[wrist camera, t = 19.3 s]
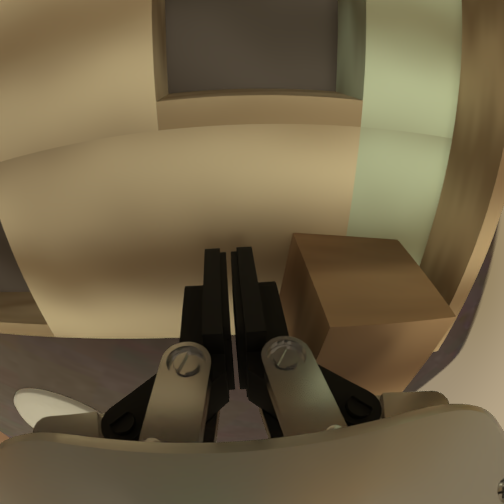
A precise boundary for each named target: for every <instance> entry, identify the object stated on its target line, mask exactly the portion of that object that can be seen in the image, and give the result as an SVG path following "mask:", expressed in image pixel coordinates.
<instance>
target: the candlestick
mask: <svg viewBox="0 0 504 504" xmlns="http://www.w3.org/2000/svg"><path fill="white" fill-rule="evenodd" d="M14 404H15V406H16V408H17V410H18V412H19V413H20V415H21V416H22V417H23V419H24V420H25V421H26V422H27V423H28V424H29V425H30V426H32V427H33V428H34V426H35V425H36V423H37V422H38V421H39V420H40V419H42V418H44V417H47V416H58V415H70V414H80V413H89V412H97V413H98V414H101V413H100V412H98V411H96V410H95V409H93V408H91V407H89V406H87V405H85V404H83V403H81V402H78V401H76V400H74V399H71V398H69V397H66V396H63V395H60V394H57V393H54V392H50V391H47V390H42V389H36V388H23V389H20V390H18V391H17V392H16V394H15V397H14Z"/></svg>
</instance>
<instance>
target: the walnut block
mask: <svg viewBox="0 0 504 504" xmlns="http://www.w3.org/2000/svg"><path fill="white" fill-rule="evenodd" d="M279 296H280V300H281V304H282V308H283V312H284V317H285V321H286V325H287V329H288V333H289V336H291V337H295V338H298V339H300V340H302V341H303V342H305V343H306V344H307V345H308V347H309V348H310V350H311V352H312V354H313V356H314V358H315V360H316V362H317V364H319V365H321V366H322V367H324V368H326V369H328V370H330V371H332V372H333V373H335V374H337V375H339V376H341V377H343V378H345V379H347V380H348V381H350V382H352V383H354V384H356V385H358V386H360V387H362V388H364V389H366V390H368V391H370V392H371V393H372V394H374V395H381V394H382V393H389V392H402V391H403V390H404V389H405V388H406V386H407V385H408V384H409V383H410V381H411V380H412V379H413V378H414V376H415V375H416V374H417V372H418V371H419V370H420V369H421V367H422V366H423V365H424V363H425V362H426V361H427V359H428V358H429V356H430V355H431V354H432V352H433V351H434V349H435V348H436V347H437V345H438V344H439V342H440V341H441V339H442V338H443V336H444V335H445V334H446V332H447V331H448V329H449V327H450V326H451V324H452V323H453V321H454V320H455V318H456V315H455V314H454V313H453V311H452V310H451V308H450V307H449V306H448V304H447V303H446V301H445V300H444V299H443V297H442V296H441V294H440V293H439V292H438V290H437V289H436V288H435V286H434V285H433V284H432V282H431V281H430V280H429V278H428V277H427V276H426V274H425V273H424V272H423V271H422V269H421V268H420V267H419V265H418V264H417V263H416V262H415V260H414V259H413V258H412V257H411V255H410V254H409V253H408V252H407V250H406V249H405V248H404V247H403V245H402V244H401V243H400V242H399V241H398V240H395V239H382V238H368V237H354V236H339V235H323V234H306V233H293V234H292V239H291V244H290V248H289V253H288V258H287V262H286V267H285V271H284V276H283V280H282V285H281V289H280V293H279Z"/></svg>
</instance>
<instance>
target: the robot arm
mask: <svg viewBox="0 0 504 504" xmlns="http://www.w3.org/2000/svg"><path fill="white" fill-rule="evenodd" d="M231 271H232V293H233V312H234V325H235V337H236V349H237V360H238V372H239V383H240V389H246V391H247V397H248V399H249V401H251V402H252V403H254V404H255V405H257V406H258V407H259V411H260V414H261V418H262V421H263V424H264V427H265V430H266V433H267V436H268V439H262V440H251V441H237V442H217V443H216V441H217V433H218V425H219V417H220V409H221V408H222V407H223V406H224V405H225V404H226V403H228V402H229V390H234V389H235V382H234V369H233V355H232V341H231V326H230V311H229V295H228V279H227V261H226V252H220V248H213V249H205V252H204V275H203V285H199V286H185V289H184V297H183V308H182V319H181V330H180V343H178V344H175V345H173V346H171V347H170V348H168V349H167V350H166V351H165V352H164V354H163V356H162V358H161V362H160V365H159V369H158V372H157V374H155V375H154V376H153V377H151V378H150V379H149V380H147V381H146V382H145V383H143V384H142V385H141V386H139V387H138V388H137V389H135V390H134V391H133V392H131V393H130V394H129V395H127V396H126V397H125V398H123V399H122V400H121V401H119V402H118V403H117V404H115V405H114V406H112V407H111V408H110V409H109V410H108V411H107V412H106V413H103V414H98V413H97V412H89V413H80V414H70V415H58V416H47V417H44V418H42V419H40V420H39V421H38V422H37V423H36V425H35V426H34V430H33V433H29V434H23V435H19V436H15V437H12V438H10V439H8V440H5V441H4V442H2V443H1V444H0V504H504V431H503V429H502V428H501V426H500V425H499V423H498V422H497V420H496V419H495V418H494V416H493V415H492V414H491V413H489V412H488V411H487V410H485V409H483V408H481V407H478V406H473V405H467V404H449V401H448V399H447V398H446V397H445V396H444V395H443V394H441V393H439V392H437V391H419V392H389V393H382V394H381V395H374V394H372V393H371V392H370V391H368V390H366V389H364V388H362V387H360V386H358V385H356V384H354V383H352V382H350V381H348V380H347V379H345V378H343V377H341V376H339V375H337V374H335V373H333V372H332V371H330V370H328V369H326V368H324V367H322V366H321V365H319V364H317V362H316V360H315V358H314V356H313V354H312V352H311V350H310V348H309V347H308V345H307V344H306V343H305V342H303V341H302V340H300V339H298V338H295V337H291V336H289V333H288V329H287V325H286V321H285V317H284V312H283V308H282V304H281V300H280V296H279V292H278V288H277V284H276V282H275V281H271V282H258V279H257V273H256V268H255V262H254V256H253V251H252V247H236V251H233V252H231Z"/></svg>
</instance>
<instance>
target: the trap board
mask: <svg viewBox="0 0 504 504" xmlns="http://www.w3.org/2000/svg"><path fill="white" fill-rule="evenodd" d="M503 206H504V0H0V333H5V334H16V335H30V336H46V337H68V338H111V339H135V338H180V330H181V319H182V308H183V297H184V289H185V286H199V285H203V275H204V252H205V249H213V248H220V252H226V261H227V279H228V295H229V311H230V326H231V335H235V325H234V312H233V293H232V271H231V252H233V251H236V247H252V251H253V256H254V262H255V268H256V273H257V279H258V282H271V281H275V282H276V284H277V288H278V292H279V293H280V289H281V285H282V280H283V276H284V271H285V267H286V262H287V258H288V253H289V248H290V244H291V239H292V234H293V233H306V234H323V235H339V236H354V237H368V238H382V239H395V240H398V241H399V242H400V243H401V244H402V245H403V247H404V248H405V249H406V250H407V252H408V253H409V254H410V255H411V257H412V258H413V259H414V260H415V262H416V263H417V264H418V265H419V267H420V268H421V269H422V271H423V272H424V273H425V274H426V276H427V277H428V278H429V280H430V281H431V282H432V284H433V285H434V286H435V288H436V289H437V290H438V292H439V293H440V294H441V296H442V297H443V299H444V300H445V301H446V303H447V304H448V306H449V307H450V308H451V310H452V311H453V313H454V314H455V315H456V318H457V316H458V314H459V312H460V310H461V308H462V306H463V304H464V302H465V300H466V298H467V296H468V294H469V292H470V290H471V288H472V286H473V283H474V281H475V279H476V277H477V275H478V272H479V270H480V268H481V265H482V263H483V261H484V258H485V256H486V253H487V251H488V248H489V246H490V243H491V241H492V238H493V235H494V233H495V230H496V227H497V224H498V221H499V218H500V215H501V212H502V209H503ZM456 318H455V320H456ZM455 320H454V321H455ZM454 321H453V323H454ZM453 323H452V324H451V326H450V327H449V329H448V331H447V332H446V334H445V335H444V336H443V338H442V339H441V341H440V342H439V344H438V345H437V347H436V348H435V349H434V351H433V352H435V351H438V350H439V348H440V346H441V344H442V343H443V341H444V339H445V338H446V336H447V334H448V332H449V331H450V329H451V327H452V325H453Z"/></svg>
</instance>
